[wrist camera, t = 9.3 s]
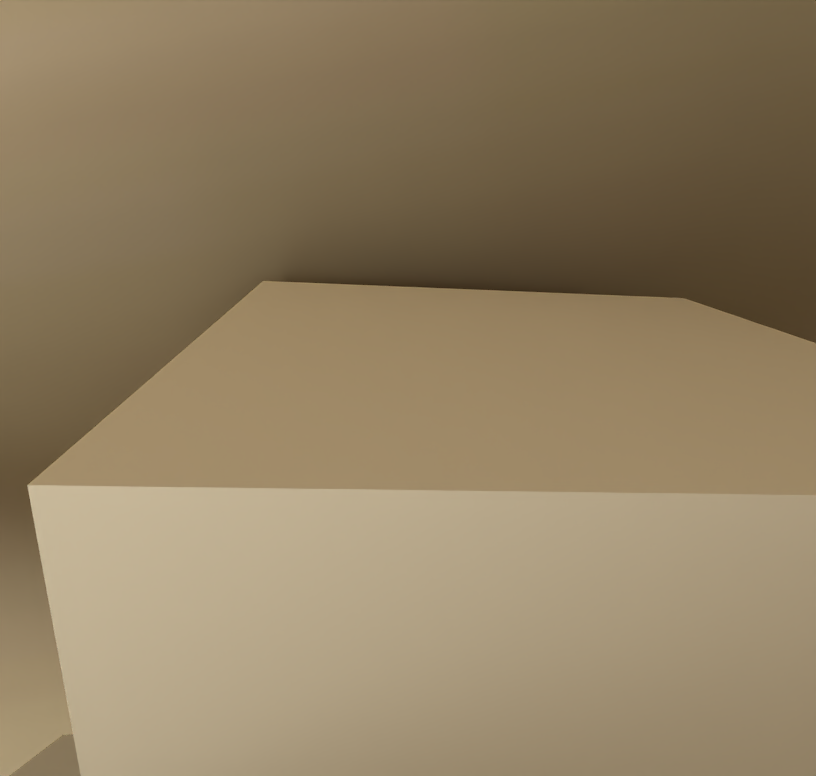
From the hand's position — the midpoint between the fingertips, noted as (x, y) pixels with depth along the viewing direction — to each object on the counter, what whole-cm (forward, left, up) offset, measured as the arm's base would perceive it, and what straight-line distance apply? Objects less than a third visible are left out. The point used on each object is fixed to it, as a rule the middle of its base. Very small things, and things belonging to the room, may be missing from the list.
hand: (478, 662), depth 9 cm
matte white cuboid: (0, 0, -2) cm, 3 cm away
